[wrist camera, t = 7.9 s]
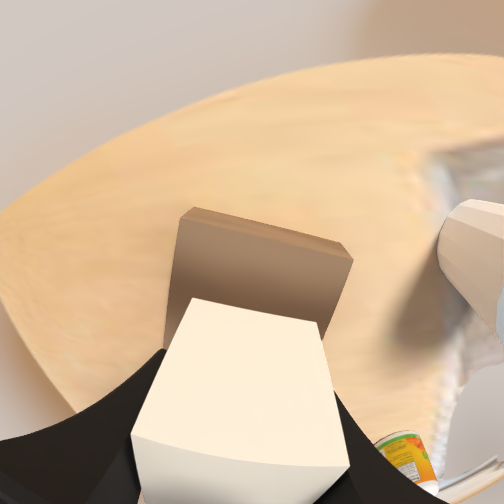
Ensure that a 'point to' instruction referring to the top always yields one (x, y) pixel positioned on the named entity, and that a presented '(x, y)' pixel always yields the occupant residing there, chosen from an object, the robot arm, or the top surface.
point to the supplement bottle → (409, 458)
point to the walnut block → (254, 269)
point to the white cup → (476, 258)
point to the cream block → (240, 413)
